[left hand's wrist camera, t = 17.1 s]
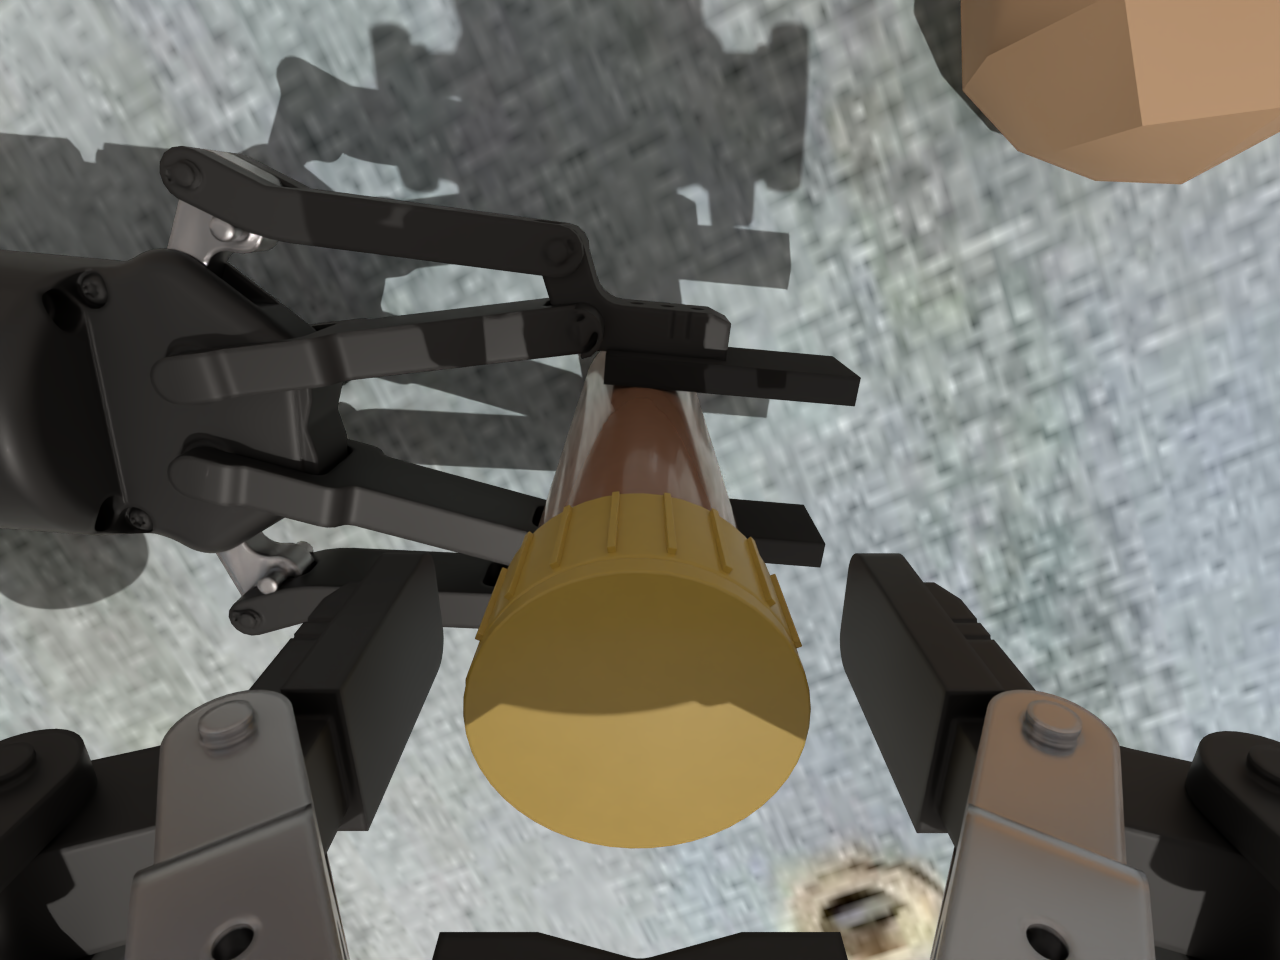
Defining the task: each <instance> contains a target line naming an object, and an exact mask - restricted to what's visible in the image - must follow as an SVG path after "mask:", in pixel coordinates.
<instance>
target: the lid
mask: <svg viewBox="0 0 1280 960" xmlns="http://www.w3.org/2000/svg"><path fill="white" fill-rule="evenodd" d="M475 639H476V640H479V641H480V642H479V645H478V647H477V650H476V653H475V655H474V658H473V661H472V664H471V666H470V669H469V672H468V674H467V677H466V687H465V692H464V704H463V717H464V723H465V730H466V735H467V738H468V741H469V745H470V748H471V751H472V753H473V755H474V757H475V760H476V762H477V764H478V766H479V768H480V769H481V771H482V772H483V774H484V775H485V777H486V778H487V780H488V781H489V782H490V784H491V785H492V786H493V787H494V788H495V789H496V791H497V792H498V793H499V794H500V795H501V796H502V797H503V798H504V799H505V800H506V801H507V802H509V803H510V804H511V805H512V806H513V807H514V808H516V809H517V810H518V811H519V812H521V813H522V814H524V815H525V816H527V817H528V818H530V819H531V820H533V821H535V822H536V823H538V824H540V825H542V826H544V827H546V828H548V829H550V830H552V831H554V832H557V833H560V834H562V835H565V836H567V837H570V838H573V839H577V840H580V841H584V842H588V843H592V844H597V845H603V846H609V847H620V848H655V847H664V846H672V845H677V844H682V843H686V842H691V841H694V840H698V839H701V838H704V837H707V836H710V835H713V834H715V833H717V832H719V831H722V830H724V829H726V828H729V827H731V826H732V825H734V824H736V823H738V822H739V821H741V820H743V819H745V818H746V817H748V816H749V815H750V814H752V813H753V812H754V811H756V810H757V809H759V808H760V807H761V806H762V805H764V804H765V803H766V802H767V801H768V800H769V799H770V798H771V797H772V796H773V795H774V794H775V793H776V792H777V791H778V790H779V788H780V787H781V786H782V785H783V784H784V782H785V781H786V780H787V779H788V777H789V775H790V774H791V772H792V771H793V769H794V767H795V766H796V764H797V762H798V760H799V757H800V755H801V753H802V750H803V748H804V745H805V741H806V738H807V734H808V730H809V723H810V712H811V706H810V693H809V687H808V683H807V679H806V675H805V671H804V669H803V666H802V663H801V660H800V658H799V655H798V652H797V649H796V648H799V647H802V645H801V642H800V639H799V637H798V634H797V631H796V628H795V626H794V623H793V620H792V618H791V615H790V612H789V610H788V607H787V604H786V602H785V599H784V596H783V593H782V591H781V588H780V585H779V583H778V580H777V577H776V575H775V574H773V575H770V574H769V572H768V569H767V567H766V565H765V563H764V561H763V560H762V558H761V557H760V555H759V552H758V549H757V546H756V543H755V541H754V540H753V538H752V537H749V538H748V539H747V538H746V537H745V536H744V535H743V534H742V533H741V532H740V531H738V530H737V529H736V528H735V527H734V526H733V525H732V524H730V523H729V522H727V521H726V520H724V519H723V518H721V517H720V516H719V513H718V511H717V510H715V509H713V508H712V509H711V511H709V510H707V509H705V508H703V507H701V506H699V505H696V504H693V503H690V502H688V501H685V500H682V499H678V498H673V497H671V494H670V493H664V495H655V494H645V493H636V494H620V493H619V491H618V492H612V496H605V497H601V498H597V499H594V500H590V501H586V502H584V503H581V504H579V505H576V506H574V507H571V506H570V505H568V506H566V507H564V509H563V512H562V513H560V514H558V515H557V516H555V517H553V518H551V519H550V520H549V521H547V522H546V523H545V524H544V525H542V526H541V527H540V528H538V529H537V530H536V531H535V532H534V533H533V534H532V533H531V532H530V531H529V532H528V533H527V534H526V535H525V537H524V540H523V543H522V546H521V548H520V549H519V550H518V552H517V553H516V554H515V556H514V558H513V559H512V561H511V563H510V565H509V567H508V569H506V568H504V567H503V568H502V570H501V572H500V574H499V577H498V580H497V582H496V585H495V587H494V590H493V593H492V595H491V598H490V600H489V603H488V606H487V608H486V611H485V613H484V616H483V619H482V621H481V624H480V626H479V629H478V632H477V634H476V637H475Z"/></svg>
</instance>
